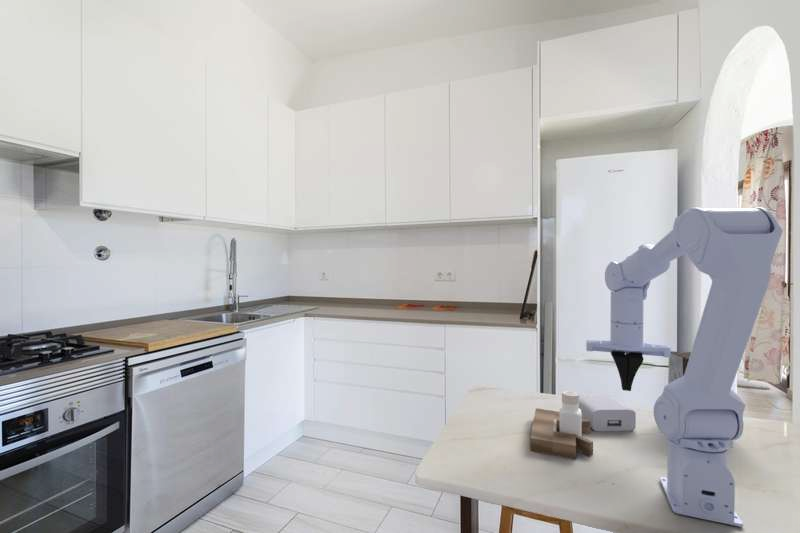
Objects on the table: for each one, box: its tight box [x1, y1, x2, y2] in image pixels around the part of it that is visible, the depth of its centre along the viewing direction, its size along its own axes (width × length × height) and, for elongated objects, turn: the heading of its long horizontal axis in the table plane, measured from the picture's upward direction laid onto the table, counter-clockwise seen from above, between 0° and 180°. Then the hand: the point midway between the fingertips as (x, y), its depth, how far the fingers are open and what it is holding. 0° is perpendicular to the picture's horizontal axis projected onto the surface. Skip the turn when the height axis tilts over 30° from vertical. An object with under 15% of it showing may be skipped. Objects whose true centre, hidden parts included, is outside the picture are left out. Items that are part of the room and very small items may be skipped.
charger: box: [579, 394, 637, 432], centre depth 90 cm, size 5×9×15 cm
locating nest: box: [529, 408, 594, 460], centre depth 79 cm, size 16×11×2 cm
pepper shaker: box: [559, 390, 583, 437], centre depth 79 cm, size 4×4×10 cm
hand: (626, 389), depth 78 cm, fingers closed
